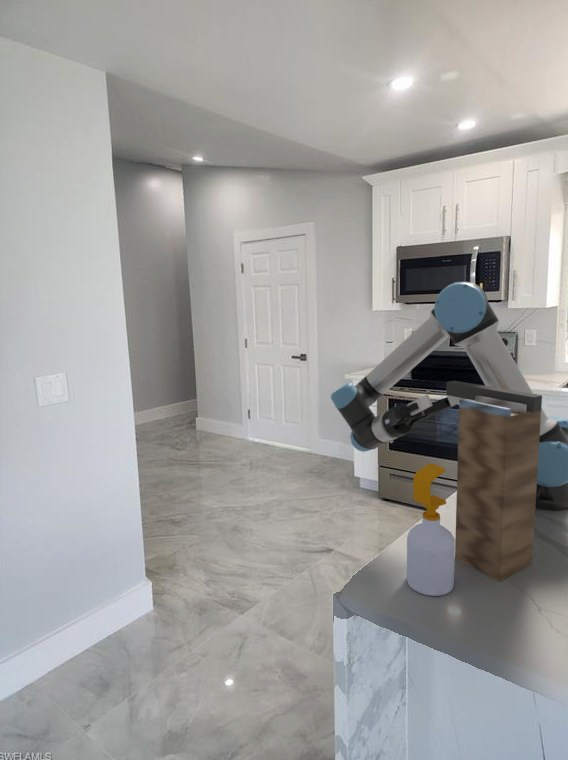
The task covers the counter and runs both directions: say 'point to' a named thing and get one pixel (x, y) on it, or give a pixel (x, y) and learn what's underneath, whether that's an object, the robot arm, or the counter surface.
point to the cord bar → (493, 394)
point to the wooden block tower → (496, 485)
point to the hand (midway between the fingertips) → (450, 395)
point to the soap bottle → (430, 541)
